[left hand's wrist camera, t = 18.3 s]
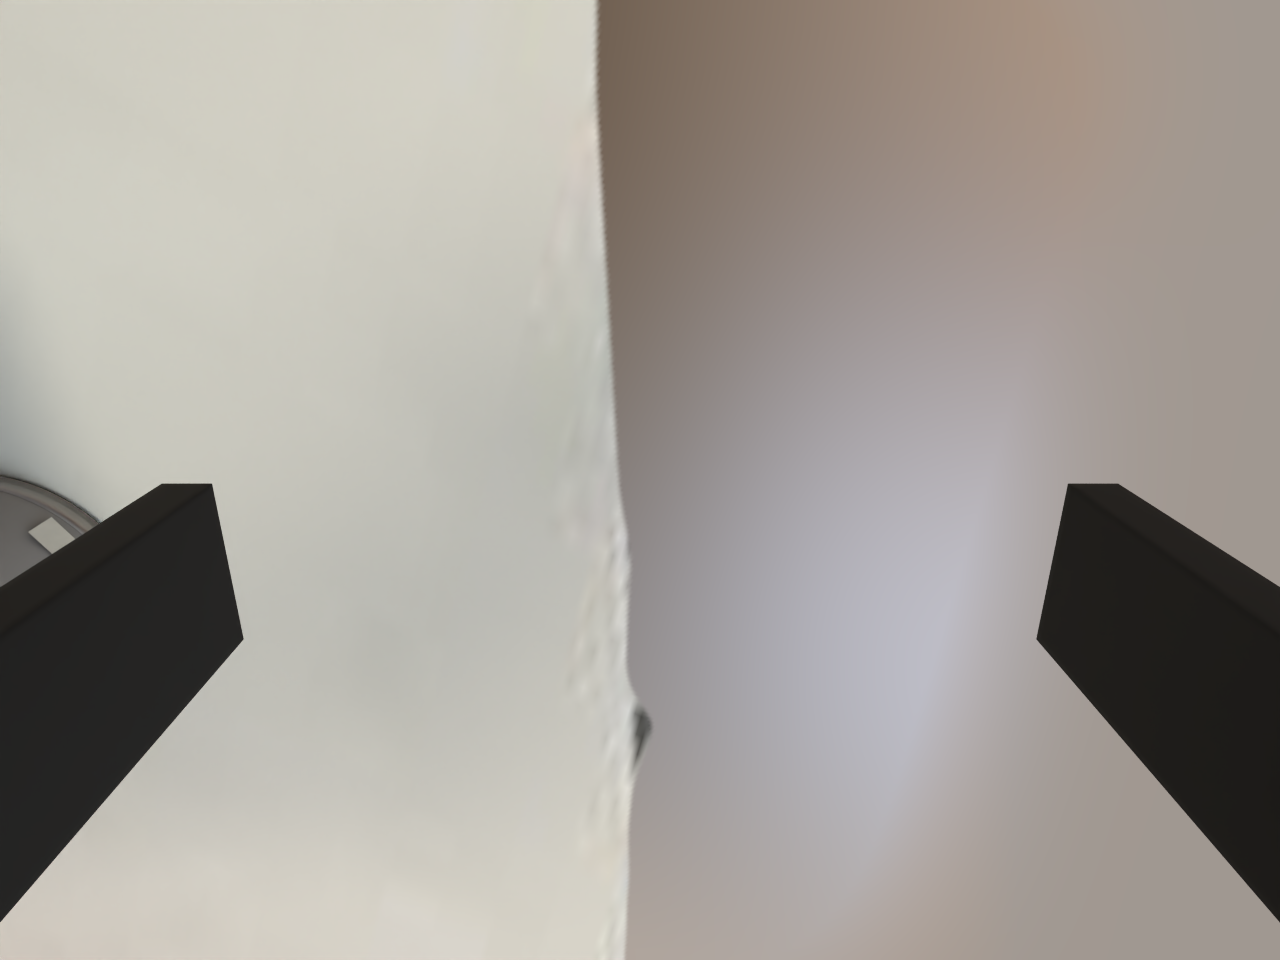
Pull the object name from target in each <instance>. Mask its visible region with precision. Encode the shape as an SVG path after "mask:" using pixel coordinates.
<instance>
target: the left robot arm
mask: <svg viewBox="0 0 1280 960" xmlns="http://www.w3.org/2000/svg"><path fill="white" fill-rule="evenodd" d="M242 640H243V634H242V629H241V624H240V619H239V614H238V609H237V605H236V600H235V595H234V590H233V585H232V580H231V575H230V570H229V565H228V560H227V555H226V550H225V546H224V541H223V536H222V531H221V526H220V521H219V516H218V511H217V506H216V501H215V496H214V492H213V487H212V484H161V485H159V486H158V487H156V488H154V489H153V490H151V491H150V492H148V493H147V494H145V495H143V496H142V497H140V498H139V499H137V500H136V501H134V502H133V503H131V504H129V505H128V506H126V507H125V508H123V509H122V510H120V511H118V512H117V513H115V514H114V515H112V516H111V517H109V518H108V519H106V520H104V521H103V522H101V523H100V524H99V523H98V522H96V521H95V520H94V519H93V518H91V517H90V516H89V515H88V514H86V513H85V512H84V511H82V510H81V509H79V508H78V507H76V506H75V505H73V504H72V503H70V502H68V501H66V500H65V499H63V498H61V497H59V496H57V495H55V494H53V493H51V492H49V491H47V490H45V489H42V488H39V487H37V486H34V485H32V484H29V483H25V482H22V481H19V480H15V479H10V478H6V477H1V476H0V922H1V921H2V920H3V918H4V917H5V916H6V915H7V914H8V913H9V911H10V910H11V909H12V908H13V907H14V906H15V904H16V903H17V902H18V901H19V900H20V899H21V897H22V896H23V895H24V894H25V893H26V892H27V890H28V889H29V888H30V887H31V886H32V885H33V883H34V882H35V881H36V880H37V879H38V878H39V877H40V875H41V874H42V873H43V872H44V871H45V870H46V868H47V867H48V866H49V865H50V864H51V863H52V861H53V860H54V859H55V858H56V857H57V856H58V854H59V853H60V852H61V851H62V850H63V849H64V847H65V846H66V845H67V844H68V843H69V842H70V840H71V839H72V838H73V837H74V836H75V835H76V833H77V832H78V831H79V830H80V829H81V828H82V827H83V825H84V824H85V823H86V822H87V821H88V820H89V818H90V817H91V816H92V815H93V814H94V813H95V811H96V810H97V809H98V808H99V807H100V806H101V804H102V803H103V802H104V801H105V800H106V799H107V797H108V796H109V795H110V794H111V793H112V792H113V790H114V789H115V788H116V787H117V786H118V785H119V783H120V782H121V781H122V780H123V779H124V778H125V776H126V775H127V774H128V773H129V772H130V771H131V770H132V768H133V767H134V766H135V765H136V764H137V763H138V761H139V760H140V759H141V758H142V757H143V756H144V754H145V753H146V752H147V751H148V750H149V749H150V747H151V746H152V745H153V744H154V743H155V742H156V740H157V739H158V738H159V737H160V736H161V735H162V733H163V732H164V731H165V730H166V729H167V728H168V726H169V725H170V724H171V723H172V722H173V721H174V720H175V718H176V717H177V716H178V715H179V714H180V713H181V711H182V710H183V709H184V708H185V707H186V706H187V704H188V703H189V702H190V701H191V700H192V699H193V697H194V696H195V695H196V694H197V693H198V692H199V690H200V689H201V688H202V687H203V686H204V685H205V683H206V682H207V681H208V680H209V679H210V678H211V676H212V675H213V674H214V673H215V672H216V671H217V670H218V668H219V667H220V666H221V665H222V664H223V663H224V661H225V660H226V659H227V658H228V657H229V656H230V654H231V653H232V652H233V651H234V650H235V649H236V647H237V646H238V645H239V644H240V643H241V642H242ZM1037 640H1038V642H1039V643H1040V644H1041V645H1042V646H1043V647H1044V649H1045V650H1046V651H1047V652H1048V653H1049V654H1050V656H1051V657H1052V658H1053V659H1054V660H1055V661H1056V663H1057V664H1058V665H1059V666H1060V667H1061V668H1062V669H1063V671H1064V672H1065V673H1066V674H1067V675H1068V676H1069V678H1070V679H1071V680H1072V681H1073V682H1074V683H1075V685H1076V686H1077V687H1078V688H1079V689H1080V690H1081V692H1082V693H1083V694H1084V695H1085V696H1086V697H1087V699H1088V700H1089V701H1090V702H1091V703H1092V704H1093V706H1094V707H1095V708H1096V709H1097V710H1098V711H1099V713H1100V714H1101V715H1102V716H1103V717H1104V718H1105V719H1106V721H1107V722H1108V723H1109V724H1110V725H1111V726H1112V728H1113V729H1114V730H1115V731H1116V732H1117V733H1118V735H1119V736H1120V737H1121V738H1122V739H1123V740H1124V742H1125V743H1126V744H1127V745H1128V746H1129V747H1130V749H1131V750H1132V751H1133V752H1134V753H1135V754H1136V756H1137V757H1138V758H1139V759H1140V760H1141V761H1142V763H1143V764H1144V765H1145V766H1146V767H1147V768H1148V770H1149V771H1150V772H1151V773H1152V774H1153V775H1154V776H1155V778H1156V779H1157V780H1158V781H1159V782H1160V783H1161V785H1162V786H1163V787H1164V788H1165V789H1166V790H1167V792H1168V793H1169V794H1170V795H1171V796H1172V797H1173V799H1174V800H1175V801H1176V802H1177V803H1178V804H1179V806H1180V807H1181V808H1182V809H1183V810H1184V811H1185V812H1186V814H1187V815H1188V816H1189V817H1190V818H1191V820H1192V821H1193V822H1194V823H1195V824H1196V825H1197V827H1198V828H1199V829H1200V830H1201V831H1202V832H1203V833H1204V835H1205V836H1206V837H1207V838H1208V839H1209V840H1210V842H1211V843H1212V844H1213V845H1214V846H1215V847H1216V849H1217V850H1218V851H1219V852H1220V853H1221V854H1222V856H1223V857H1224V858H1225V859H1226V860H1227V861H1228V863H1229V864H1230V865H1231V866H1232V867H1233V868H1234V870H1235V871H1236V872H1237V873H1238V874H1239V875H1240V877H1241V878H1242V879H1243V880H1244V881H1245V882H1246V883H1247V885H1248V886H1249V887H1250V888H1251V889H1252V890H1253V892H1254V893H1255V894H1256V895H1257V896H1258V897H1259V899H1260V900H1261V901H1262V902H1263V903H1264V904H1265V906H1266V907H1267V908H1268V909H1269V910H1270V911H1271V913H1272V914H1273V915H1274V916H1275V917H1276V918H1277V919H1278V921H1279V922H1280V587H1279V586H1277V585H1276V584H1274V583H1273V582H1271V581H1269V580H1268V579H1266V578H1265V577H1263V576H1262V575H1260V574H1259V573H1257V572H1255V571H1254V570H1252V569H1251V568H1249V567H1248V566H1246V565H1244V564H1243V563H1241V562H1240V561H1238V560H1237V559H1235V558H1234V557H1232V556H1230V555H1229V554H1227V553H1226V552H1224V551H1223V550H1221V549H1219V548H1218V547H1216V546H1215V545H1213V544H1212V543H1210V542H1208V541H1207V540H1205V539H1204V538H1202V537H1201V536H1199V535H1198V534H1196V533H1194V532H1193V531H1191V530H1190V529H1188V528H1187V527H1185V526H1183V525H1182V524H1180V523H1179V522H1177V521H1176V520H1174V519H1172V518H1171V517H1169V516H1168V515H1166V514H1165V513H1163V512H1162V511H1160V510H1158V509H1157V508H1155V507H1154V506H1152V505H1151V504H1149V503H1147V502H1146V501H1144V500H1143V499H1141V498H1140V497H1138V496H1136V495H1135V494H1133V493H1132V492H1130V491H1129V490H1127V489H1126V488H1124V487H1122V486H1121V485H1119V484H1068V487H1067V492H1066V496H1065V501H1064V506H1063V511H1062V516H1061V521H1060V526H1059V531H1058V536H1057V541H1056V546H1055V550H1054V556H1053V560H1052V565H1051V570H1050V575H1049V580H1048V585H1047V590H1046V595H1045V600H1044V605H1043V609H1042V614H1041V619H1040V624H1039V629H1038V634H1037Z"/></svg>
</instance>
